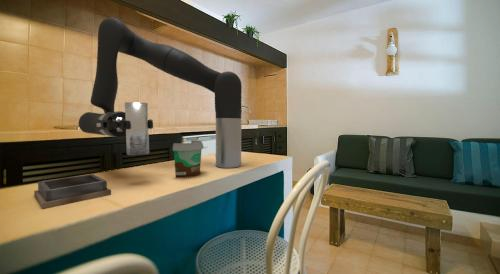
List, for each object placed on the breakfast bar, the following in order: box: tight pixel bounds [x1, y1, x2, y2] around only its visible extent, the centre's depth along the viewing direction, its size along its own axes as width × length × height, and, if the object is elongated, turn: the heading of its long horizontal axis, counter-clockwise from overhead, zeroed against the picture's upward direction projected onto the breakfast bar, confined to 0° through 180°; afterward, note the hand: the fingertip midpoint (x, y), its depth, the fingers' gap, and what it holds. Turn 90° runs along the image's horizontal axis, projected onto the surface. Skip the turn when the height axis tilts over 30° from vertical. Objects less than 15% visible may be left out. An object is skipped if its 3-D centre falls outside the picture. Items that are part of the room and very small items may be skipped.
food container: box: [172, 139, 205, 179], centre depth 69 cm, size 12×6×10 cm, turn 168°
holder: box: [33, 173, 112, 210], centre depth 50 cm, size 11×11×3 cm
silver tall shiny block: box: [124, 101, 150, 156], centre depth 59 cm, size 5×5×13 cm
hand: (139, 124), depth 58 cm, fingers closed on silver tall shiny block, 5 cm apart
